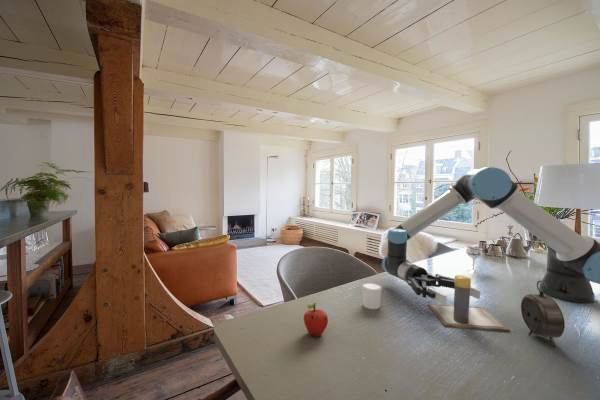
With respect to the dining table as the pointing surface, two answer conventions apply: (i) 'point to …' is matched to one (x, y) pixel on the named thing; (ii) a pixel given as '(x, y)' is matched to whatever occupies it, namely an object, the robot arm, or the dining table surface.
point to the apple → (315, 321)
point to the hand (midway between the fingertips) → (462, 297)
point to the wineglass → (474, 255)
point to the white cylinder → (371, 295)
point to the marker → (462, 299)
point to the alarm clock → (542, 315)
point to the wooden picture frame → (477, 318)
